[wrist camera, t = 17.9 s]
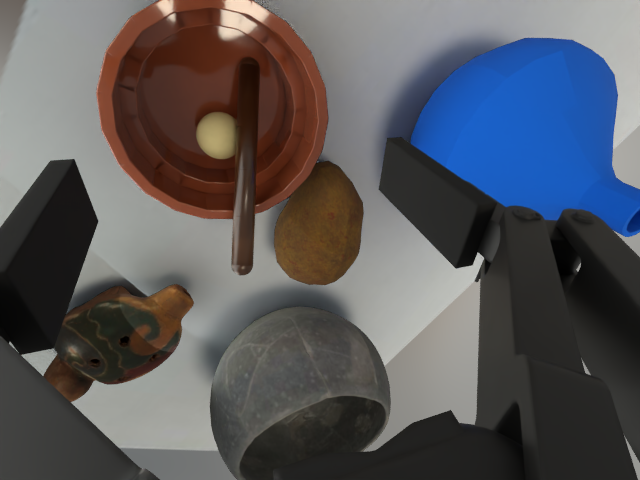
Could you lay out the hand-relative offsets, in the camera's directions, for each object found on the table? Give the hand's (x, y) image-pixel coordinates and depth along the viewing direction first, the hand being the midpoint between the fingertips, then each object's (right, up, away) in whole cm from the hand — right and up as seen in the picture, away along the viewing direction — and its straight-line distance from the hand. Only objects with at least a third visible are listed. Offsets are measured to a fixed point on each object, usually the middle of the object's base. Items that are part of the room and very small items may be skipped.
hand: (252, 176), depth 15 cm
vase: (+18, +9, +22) cm, 30 cm away
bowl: (-2, -16, +32) cm, 35 cm away
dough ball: (-5, +5, +12) cm, 14 cm away
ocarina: (-18, -10, +21) cm, 30 cm away
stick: (-2, +11, +11) cm, 16 cm away
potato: (+2, +1, +22) cm, 22 cm away
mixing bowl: (-5, +8, +13) cm, 16 cm away
